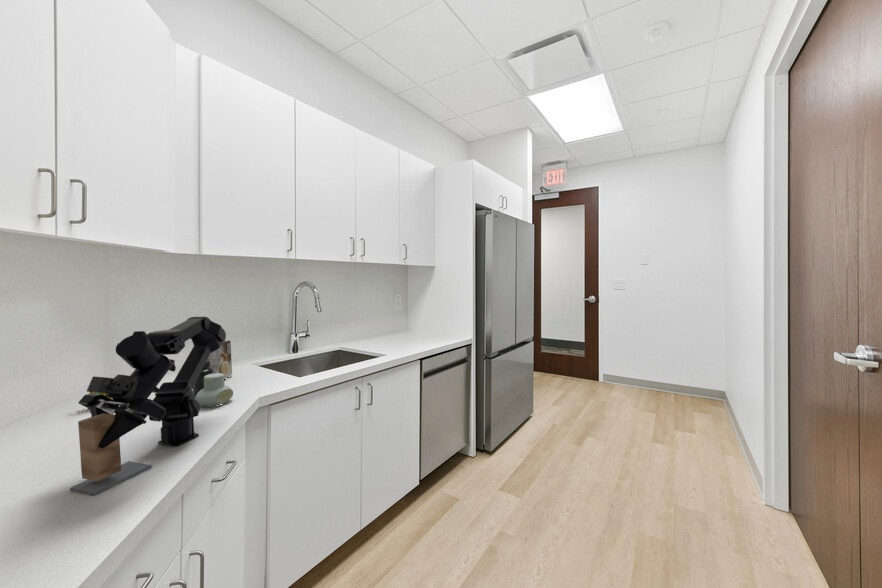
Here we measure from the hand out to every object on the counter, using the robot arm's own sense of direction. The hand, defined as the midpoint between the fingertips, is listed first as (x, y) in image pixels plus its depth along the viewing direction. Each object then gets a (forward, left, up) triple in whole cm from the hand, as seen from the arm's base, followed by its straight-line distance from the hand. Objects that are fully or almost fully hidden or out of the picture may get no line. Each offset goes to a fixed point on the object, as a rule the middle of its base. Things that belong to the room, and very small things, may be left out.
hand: (92, 446), depth 75 cm
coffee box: (-71, -44, -9) cm, 84 cm away
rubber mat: (-3, 0, -9) cm, 9 cm away
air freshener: (-46, -19, -9) cm, 51 cm away
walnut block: (-1, 0, -7) cm, 7 cm away
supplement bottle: (-54, -33, -9) cm, 64 cm away
